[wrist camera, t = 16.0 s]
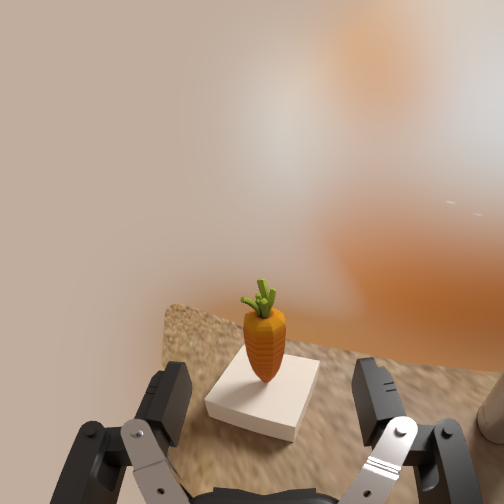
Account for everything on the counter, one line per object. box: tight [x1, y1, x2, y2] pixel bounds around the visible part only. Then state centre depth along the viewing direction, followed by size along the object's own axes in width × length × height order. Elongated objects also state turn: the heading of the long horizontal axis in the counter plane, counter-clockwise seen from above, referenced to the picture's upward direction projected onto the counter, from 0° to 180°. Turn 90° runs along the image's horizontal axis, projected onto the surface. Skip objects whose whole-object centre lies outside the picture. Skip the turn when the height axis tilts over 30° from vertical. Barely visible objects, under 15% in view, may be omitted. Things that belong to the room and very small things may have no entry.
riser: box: [204, 345, 320, 442], centre depth 35 cm, size 12×12×4 cm
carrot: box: [241, 278, 286, 383], centre depth 32 cm, size 5×5×15 cm
